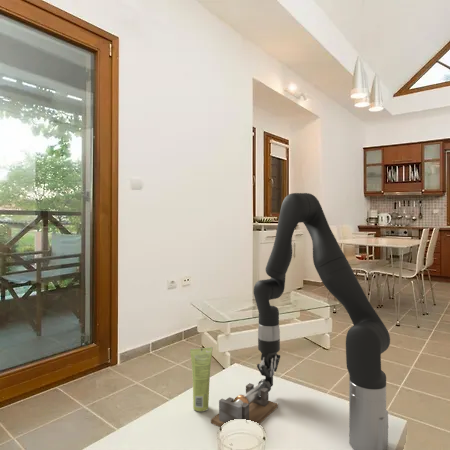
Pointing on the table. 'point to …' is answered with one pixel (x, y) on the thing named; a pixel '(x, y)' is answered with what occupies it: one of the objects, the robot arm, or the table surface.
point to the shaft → (253, 393)
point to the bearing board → (253, 413)
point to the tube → (201, 377)
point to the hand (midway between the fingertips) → (269, 386)
